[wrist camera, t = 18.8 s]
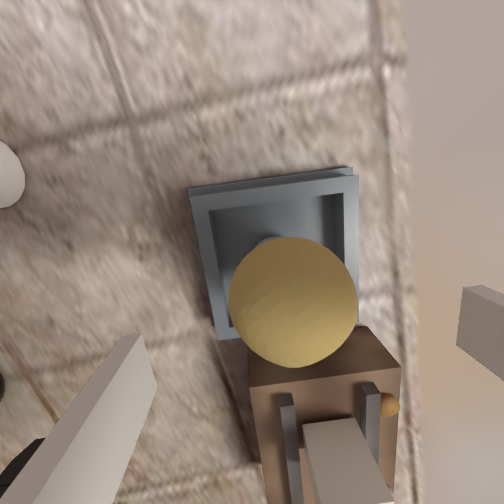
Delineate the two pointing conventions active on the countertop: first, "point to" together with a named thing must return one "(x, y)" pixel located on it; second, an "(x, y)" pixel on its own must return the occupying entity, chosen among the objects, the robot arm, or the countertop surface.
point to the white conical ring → (10, 177)
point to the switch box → (323, 410)
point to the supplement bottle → (1, 387)
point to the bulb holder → (272, 225)
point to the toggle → (342, 464)
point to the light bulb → (292, 301)
